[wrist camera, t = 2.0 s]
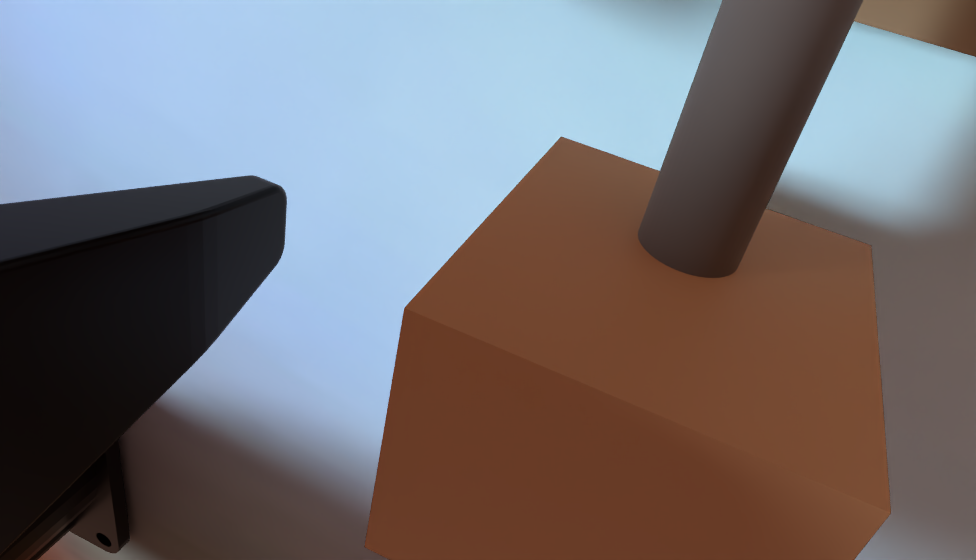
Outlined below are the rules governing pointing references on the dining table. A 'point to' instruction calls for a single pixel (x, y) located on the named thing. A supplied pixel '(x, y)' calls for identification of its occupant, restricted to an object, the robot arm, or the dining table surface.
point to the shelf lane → (925, 21)
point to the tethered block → (650, 345)
